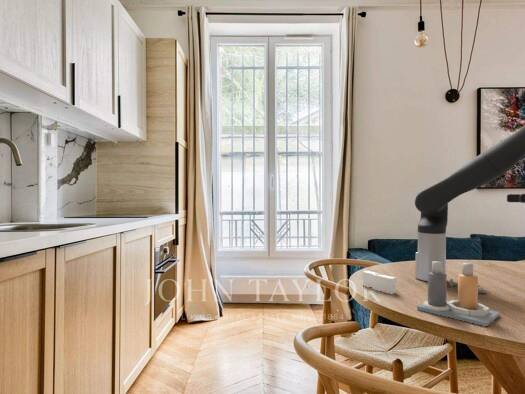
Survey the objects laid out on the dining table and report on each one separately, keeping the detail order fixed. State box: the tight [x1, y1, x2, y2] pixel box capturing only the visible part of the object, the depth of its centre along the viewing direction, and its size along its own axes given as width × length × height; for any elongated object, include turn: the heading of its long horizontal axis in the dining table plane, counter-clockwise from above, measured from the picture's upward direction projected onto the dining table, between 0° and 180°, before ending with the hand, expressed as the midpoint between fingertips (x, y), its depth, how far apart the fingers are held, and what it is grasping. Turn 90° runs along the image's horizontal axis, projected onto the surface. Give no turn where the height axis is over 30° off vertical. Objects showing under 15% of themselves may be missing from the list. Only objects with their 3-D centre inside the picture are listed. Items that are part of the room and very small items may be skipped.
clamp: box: [449, 278, 487, 295], centre depth 110 cm, size 15×2×10 cm
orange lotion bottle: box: [457, 262, 479, 310], centre depth 87 cm, size 4×4×12 cm
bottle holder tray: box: [416, 261, 501, 327], centre depth 87 cm, size 16×11×13 cm
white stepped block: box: [362, 270, 397, 295], centre depth 111 cm, size 15×11×6 cm
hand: (513, 198), depth 89 cm, fingers open, 8 cm apart
